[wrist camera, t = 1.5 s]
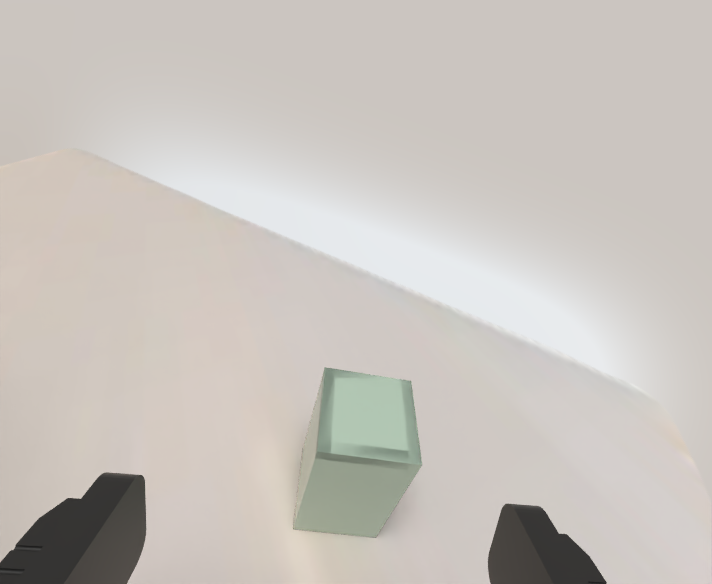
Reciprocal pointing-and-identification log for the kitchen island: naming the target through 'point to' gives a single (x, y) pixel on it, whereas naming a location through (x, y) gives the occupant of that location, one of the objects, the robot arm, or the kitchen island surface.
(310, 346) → the kitchen island surface
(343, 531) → the tall sage green box
